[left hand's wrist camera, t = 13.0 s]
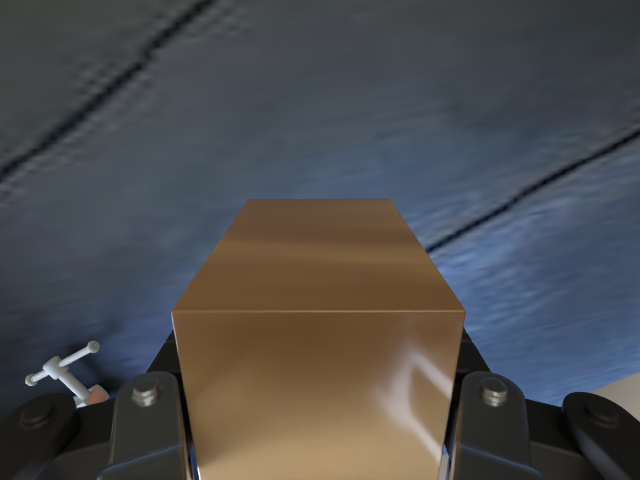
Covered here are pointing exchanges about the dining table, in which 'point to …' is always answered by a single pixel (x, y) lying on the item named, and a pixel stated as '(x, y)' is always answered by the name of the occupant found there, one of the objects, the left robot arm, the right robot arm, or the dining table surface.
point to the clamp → (72, 377)
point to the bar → (318, 346)
